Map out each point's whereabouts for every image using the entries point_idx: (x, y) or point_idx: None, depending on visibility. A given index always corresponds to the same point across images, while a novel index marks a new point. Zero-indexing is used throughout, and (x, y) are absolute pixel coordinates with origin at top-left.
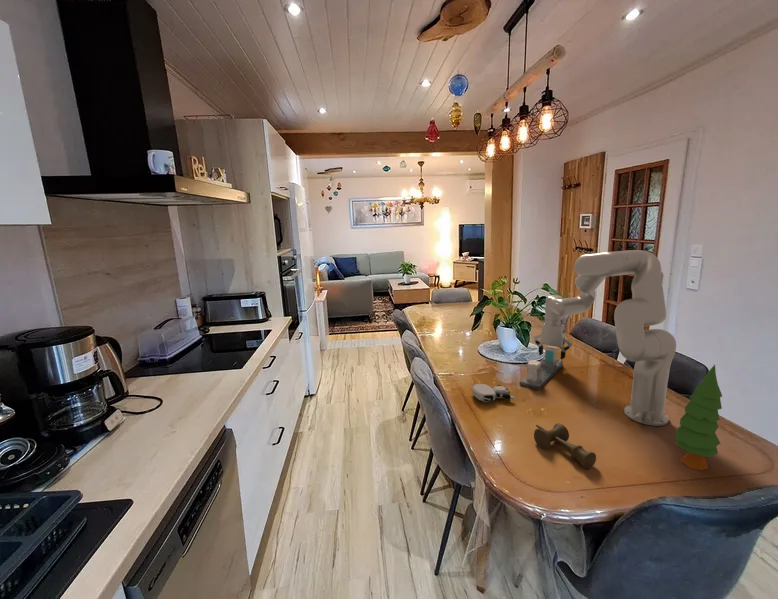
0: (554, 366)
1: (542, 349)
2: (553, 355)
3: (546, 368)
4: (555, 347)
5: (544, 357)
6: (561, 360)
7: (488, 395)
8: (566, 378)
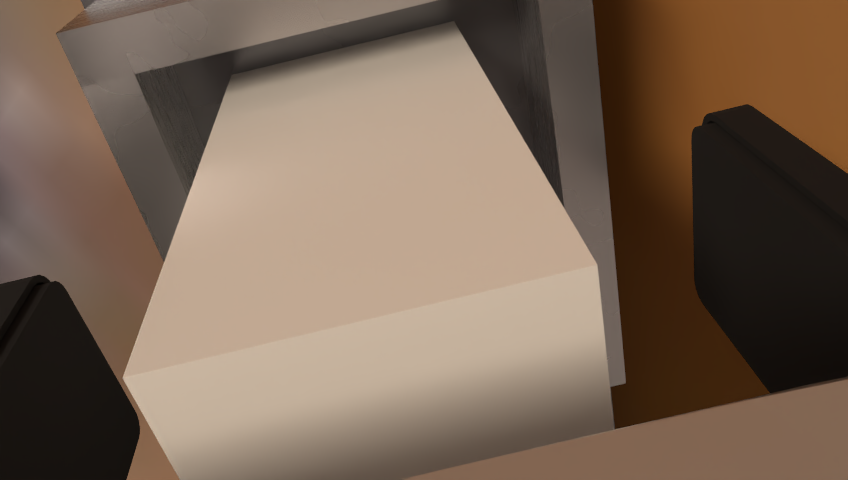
0: None
1: (29, 445)
2: None
3: None
4: (497, 342)
5: (138, 188)
6: (591, 10)
7: None
8: None
